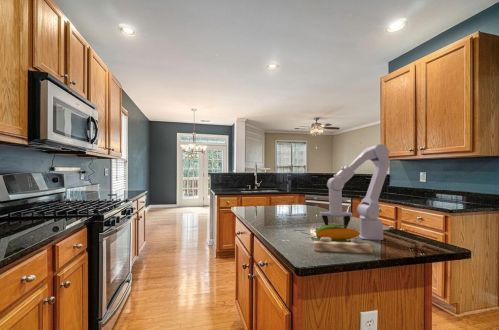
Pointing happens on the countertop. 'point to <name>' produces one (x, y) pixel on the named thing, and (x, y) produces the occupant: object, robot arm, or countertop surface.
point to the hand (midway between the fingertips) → (336, 232)
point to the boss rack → (343, 246)
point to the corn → (336, 232)
